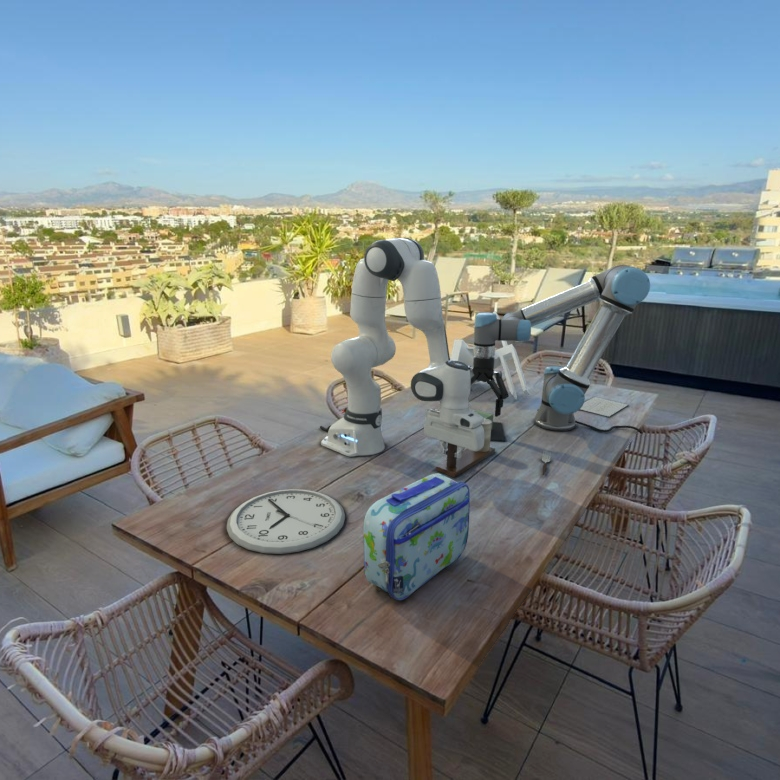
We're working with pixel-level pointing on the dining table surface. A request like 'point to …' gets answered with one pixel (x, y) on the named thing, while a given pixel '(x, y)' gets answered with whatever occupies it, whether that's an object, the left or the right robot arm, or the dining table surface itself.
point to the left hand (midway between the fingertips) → (451, 455)
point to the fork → (545, 461)
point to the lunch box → (415, 534)
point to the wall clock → (285, 521)
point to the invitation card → (602, 406)
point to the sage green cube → (485, 416)
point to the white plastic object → (502, 355)
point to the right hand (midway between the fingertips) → (481, 411)
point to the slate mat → (497, 432)
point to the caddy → (467, 455)
